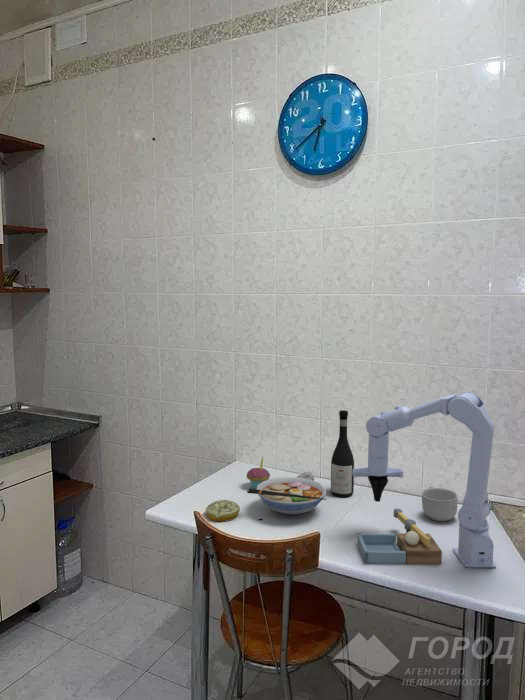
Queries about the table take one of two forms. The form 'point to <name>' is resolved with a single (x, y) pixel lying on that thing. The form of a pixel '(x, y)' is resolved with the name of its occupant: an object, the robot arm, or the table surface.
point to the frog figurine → (306, 476)
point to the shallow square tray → (380, 549)
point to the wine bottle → (342, 462)
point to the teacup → (439, 503)
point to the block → (419, 551)
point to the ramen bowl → (290, 494)
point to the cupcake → (257, 475)
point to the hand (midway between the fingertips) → (376, 500)
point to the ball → (412, 538)
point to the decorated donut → (222, 510)
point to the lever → (412, 526)
